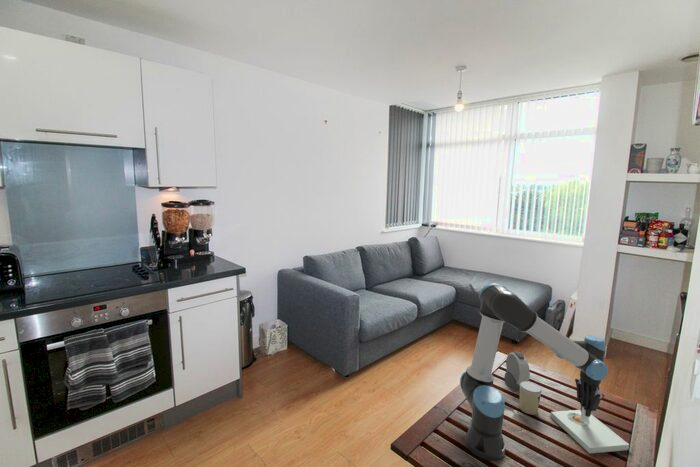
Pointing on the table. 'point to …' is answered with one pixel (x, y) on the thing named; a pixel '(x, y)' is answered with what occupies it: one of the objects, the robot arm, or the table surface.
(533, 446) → the table surface
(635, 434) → the table surface
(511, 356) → the alarm clock
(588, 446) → the plate
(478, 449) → the robot arm
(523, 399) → the coffee cup
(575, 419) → the ball
